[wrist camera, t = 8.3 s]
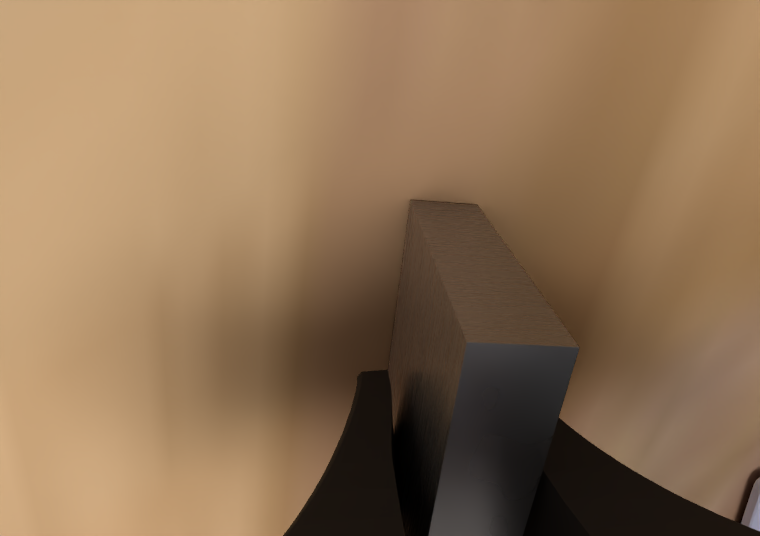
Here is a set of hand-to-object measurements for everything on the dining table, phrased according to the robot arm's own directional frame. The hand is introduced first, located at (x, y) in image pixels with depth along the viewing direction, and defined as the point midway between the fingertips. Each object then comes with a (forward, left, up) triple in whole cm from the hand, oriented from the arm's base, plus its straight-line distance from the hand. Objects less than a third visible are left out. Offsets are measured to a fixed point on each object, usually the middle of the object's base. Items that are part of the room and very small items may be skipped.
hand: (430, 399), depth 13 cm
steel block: (+1, +9, -2) cm, 9 cm away
